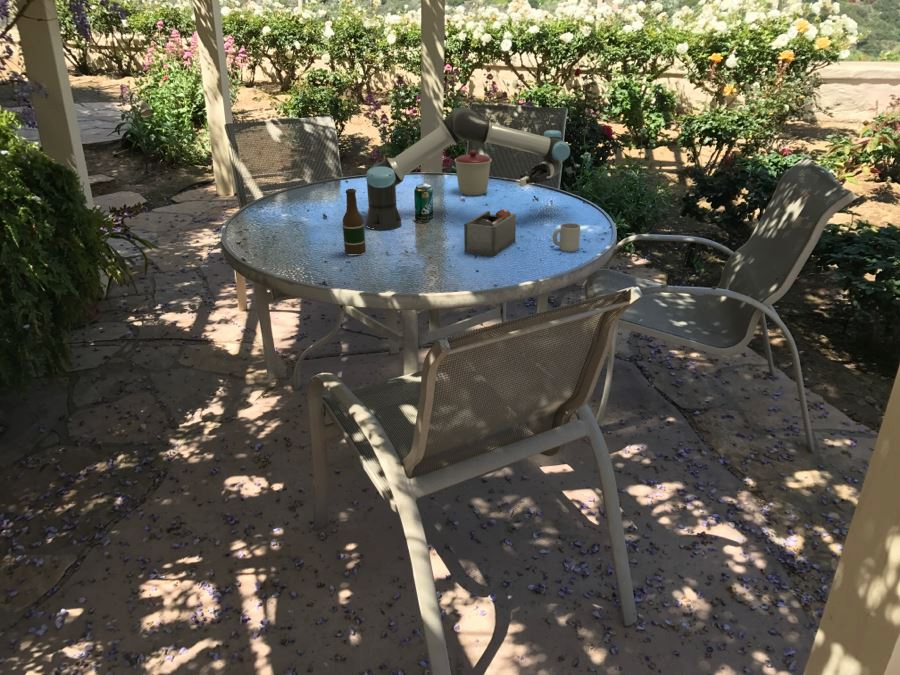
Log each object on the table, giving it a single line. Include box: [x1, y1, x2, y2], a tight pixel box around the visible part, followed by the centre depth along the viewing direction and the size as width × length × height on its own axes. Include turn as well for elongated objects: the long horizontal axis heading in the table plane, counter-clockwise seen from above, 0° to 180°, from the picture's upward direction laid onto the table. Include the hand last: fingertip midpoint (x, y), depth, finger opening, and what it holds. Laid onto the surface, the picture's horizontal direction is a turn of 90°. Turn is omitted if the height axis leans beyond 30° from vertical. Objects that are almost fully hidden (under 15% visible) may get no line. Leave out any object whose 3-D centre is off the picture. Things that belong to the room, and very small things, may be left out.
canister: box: [453, 149, 493, 197], centre depth 340 cm, size 18×18×21 cm
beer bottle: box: [342, 188, 367, 255], centre depth 258 cm, size 8×8×24 cm
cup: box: [552, 222, 581, 253], centre depth 262 cm, size 7×10×9 cm
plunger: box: [476, 209, 512, 226], centre depth 266 cm, size 18×8×8 cm, turn 152°
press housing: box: [463, 210, 517, 258], centre depth 265 cm, size 20×12×11 cm, turn 152°
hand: (521, 183), depth 280 cm, fingers closed
